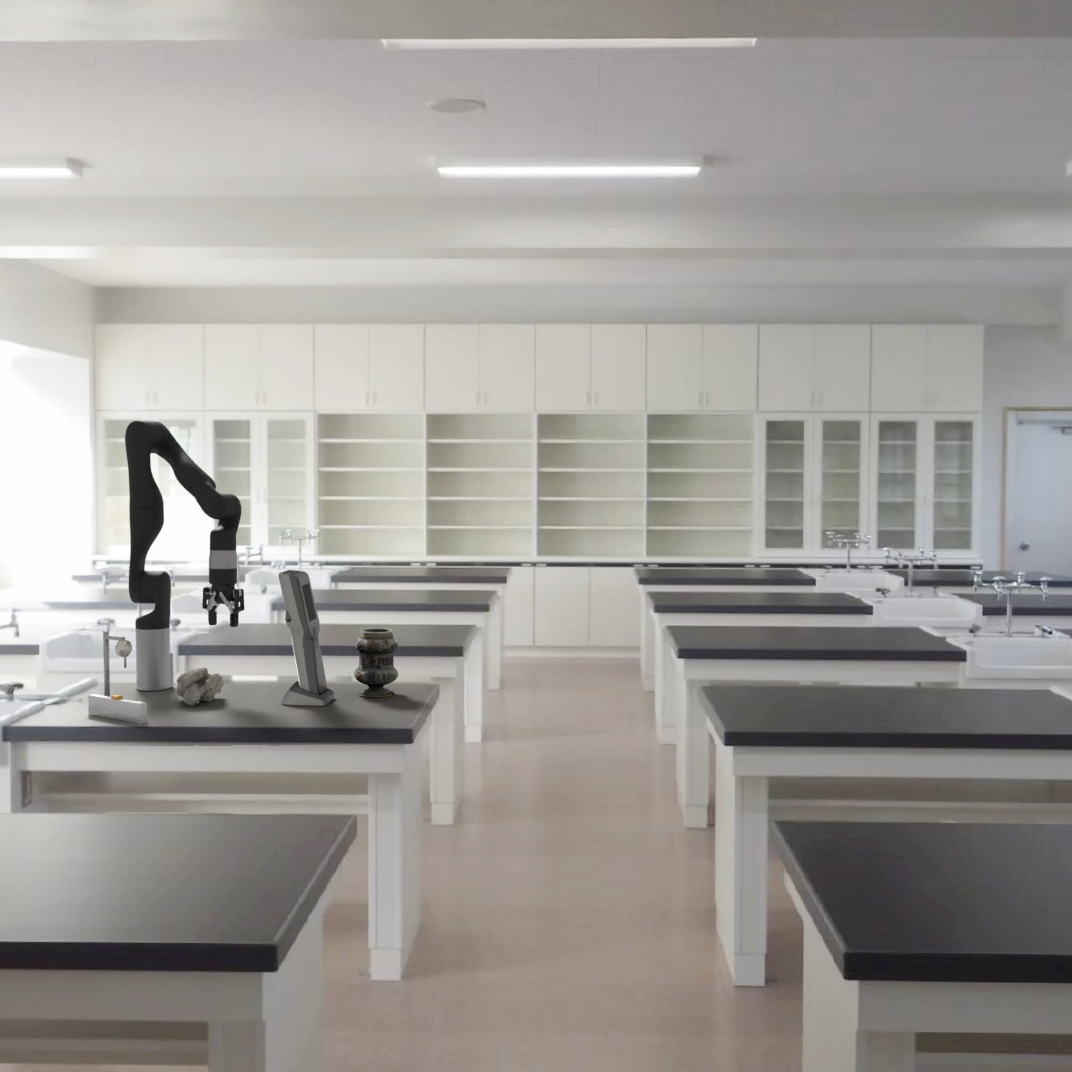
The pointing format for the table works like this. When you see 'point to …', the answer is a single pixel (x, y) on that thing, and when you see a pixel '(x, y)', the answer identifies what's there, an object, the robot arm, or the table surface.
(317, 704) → the thermal camera
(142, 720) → the rail
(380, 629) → the apothecary jar
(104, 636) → the dial indicator stand
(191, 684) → the mineral
